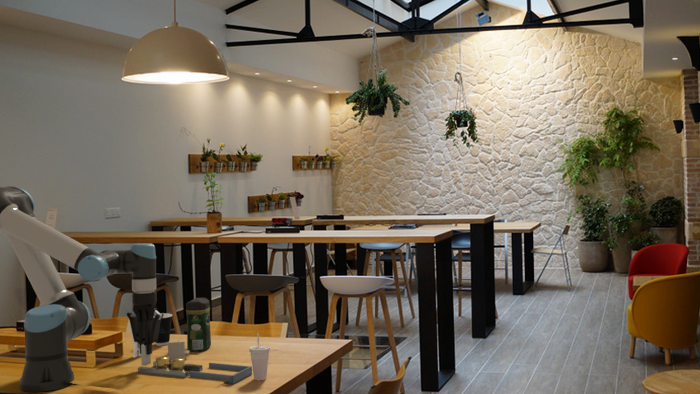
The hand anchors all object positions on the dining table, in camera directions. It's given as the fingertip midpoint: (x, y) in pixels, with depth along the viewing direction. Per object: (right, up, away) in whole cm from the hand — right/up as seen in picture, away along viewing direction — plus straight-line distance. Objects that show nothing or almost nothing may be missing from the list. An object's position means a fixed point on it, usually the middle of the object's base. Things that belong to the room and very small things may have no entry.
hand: (146, 364), depth 215 cm
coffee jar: (+10, -2, +30) cm, 32 cm away
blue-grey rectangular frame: (+26, -2, -8) cm, 27 cm away
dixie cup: (-6, -2, +38) cm, 39 cm away
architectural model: (+7, -3, +11) cm, 14 cm away
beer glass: (-8, -3, +20) cm, 21 cm away
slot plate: (+9, -2, -3) cm, 10 cm away
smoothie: (+38, -2, -10) cm, 40 cm away
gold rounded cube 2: (+11, -1, -5) cm, 12 cm away
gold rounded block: (+6, -1, -2) cm, 7 cm away
